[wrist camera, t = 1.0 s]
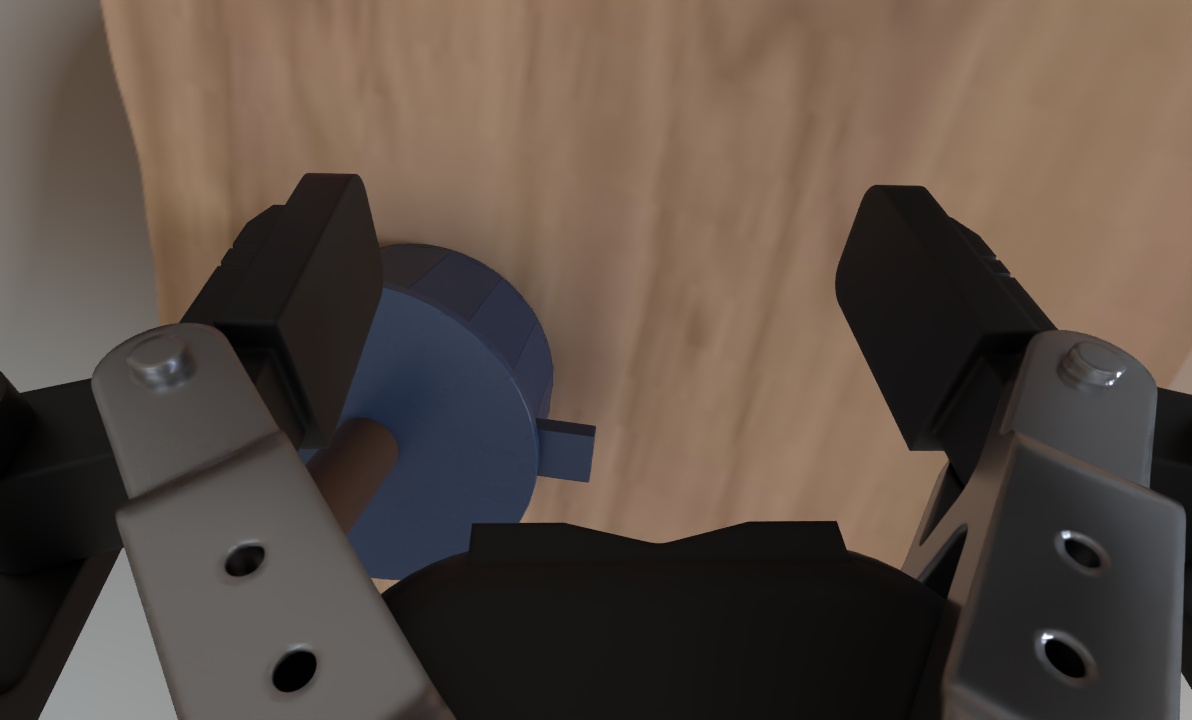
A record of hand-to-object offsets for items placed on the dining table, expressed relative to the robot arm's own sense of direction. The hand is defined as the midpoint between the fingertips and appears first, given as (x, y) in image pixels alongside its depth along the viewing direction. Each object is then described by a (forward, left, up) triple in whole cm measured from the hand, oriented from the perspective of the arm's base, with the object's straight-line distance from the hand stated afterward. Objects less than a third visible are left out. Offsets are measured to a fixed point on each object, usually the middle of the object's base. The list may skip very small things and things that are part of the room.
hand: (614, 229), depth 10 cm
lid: (+16, -5, -13) cm, 21 cm away
